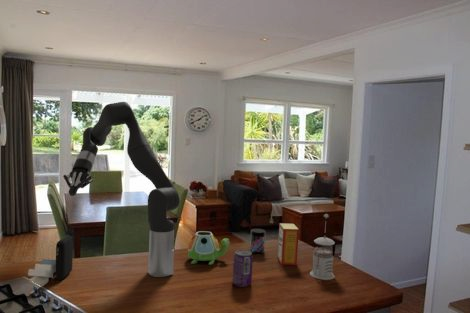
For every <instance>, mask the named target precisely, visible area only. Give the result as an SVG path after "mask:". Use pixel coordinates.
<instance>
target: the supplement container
mask: <svg viewBox="0 0 470 313" xmlns="http://www.w3.org/2000/svg"><path fill="white" fill-rule="evenodd" d="M249 245H250V247H249V251H251V252H252V253H253V254H252V255H256V254H261V255H263V254H264V253H265V245H266V230H265V229H262V228H252V229H250V243H249Z"/></svg>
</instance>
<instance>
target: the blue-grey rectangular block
mask: <svg viewBox="0 0 470 313" xmlns="http://www.w3.org/2000/svg"><path fill="white" fill-rule="evenodd" d="M40 264H47V265H54V266H56V259H49V258H48V259H47V258H42V259H41V263H40Z"/></svg>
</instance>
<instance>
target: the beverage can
mask: <svg viewBox="0 0 470 313" xmlns="http://www.w3.org/2000/svg"><path fill="white" fill-rule="evenodd" d="M253 260H254V257H253V254H252V252H251V251H250V250H248V249H238V250H235V252H234V254H233V262H232V264H233V265H232V278H231V279H232V284H234V285H235V286H237V287H243V288H245V287H247V286H250V285H251V284H252V283H253V282H252V280H253V262H254V261H253Z"/></svg>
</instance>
